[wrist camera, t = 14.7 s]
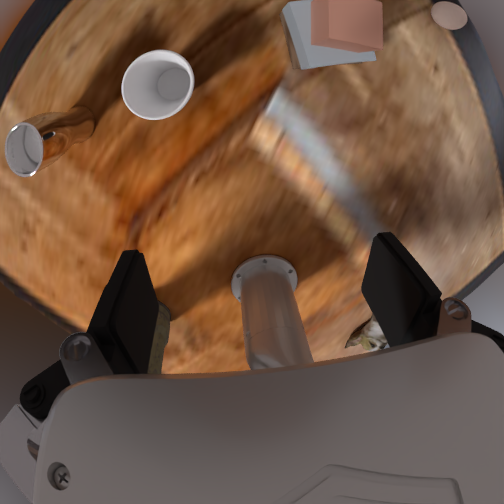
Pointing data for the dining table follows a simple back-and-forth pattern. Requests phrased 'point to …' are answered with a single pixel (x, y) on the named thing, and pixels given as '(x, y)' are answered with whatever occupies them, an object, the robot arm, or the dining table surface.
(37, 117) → the beer glass
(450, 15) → the egg
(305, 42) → the slate block
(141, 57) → the dixie cup
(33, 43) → the dining table surface
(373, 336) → the ceramic sculpture
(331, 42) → the rust cube
